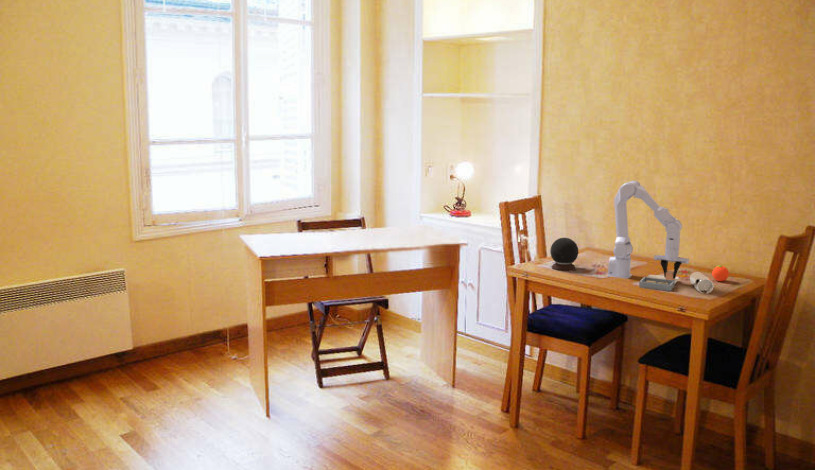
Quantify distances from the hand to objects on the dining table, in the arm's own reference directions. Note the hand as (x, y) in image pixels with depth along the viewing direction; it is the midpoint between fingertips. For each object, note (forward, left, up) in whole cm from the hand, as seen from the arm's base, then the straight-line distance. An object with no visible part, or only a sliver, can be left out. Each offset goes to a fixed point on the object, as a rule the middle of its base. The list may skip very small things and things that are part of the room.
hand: (669, 277), depth 334 cm
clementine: (+19, +16, -3) cm, 25 cm away
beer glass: (+11, +3, 0) cm, 11 cm away
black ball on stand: (-49, +3, -3) cm, 50 cm away
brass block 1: (-6, -11, -2) cm, 12 cm away
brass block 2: (-1, -11, -2) cm, 11 cm away
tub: (-3, -11, -3) cm, 11 cm away
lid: (-3, 0, -2) cm, 4 cm away
